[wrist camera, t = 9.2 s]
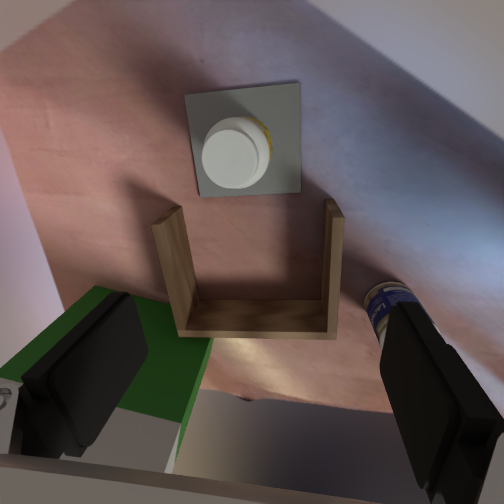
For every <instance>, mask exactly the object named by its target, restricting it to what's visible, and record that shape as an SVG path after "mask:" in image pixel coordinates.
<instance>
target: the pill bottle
mask: <svg viewBox="0 0 504 504" xmlns="http://www.w3.org/2000/svg"><path fill="white" fill-rule="evenodd" d="M398 301H409V302H418V303H419V304H420V305H421V303H420V302H419V300H418V299H417V297H416V296H415V295H414V293H413V292H412V291H411V289H410V288H408V287H407V286H406V285H404V284H401V283H398V282H385V283H381V284H379V285H377V286H375V287H374V288H372V289H371V290H370V291H369V292H368V294H367V295H366V297H365V302H364V304H365V309H366V312H367V314H368V316H369V319H370V321H371V324H372V326H373V329H374V331H375V334H376V336H377V339H378V341H379V344H380V346H381V348H382V349H383V344H384V339H385V333H386V328H387V323H388V318H389V313H390V308H391V306H392V305H396V304H397V302H398ZM421 307H422V308H423V306H422V305H421ZM423 310H424V311H425V313H426V314H427V316H428V317H429V319H430V320H431V322H432V323H433V324H434V326H435V327H436V329H437V330H438V328H437V326H436V325H435V323H434V322H433V321H432V319H431V318H430V316H429V315H428V313H427V312H426V310H425V309H424V308H423ZM438 332H439V330H438ZM439 333H440V332H439Z"/></svg>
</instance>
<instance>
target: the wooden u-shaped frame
mask: <svg viewBox="0 0 504 504" xmlns="http://www.w3.org/2000/svg"><path fill="white" fill-rule="evenodd" d="M344 219H345V217H344V215H343V214H342V212H341V210H340V209H339V207H338V205H337V203H336V202H335V200H334V199H328V200H324V228H323V258H322V289H321V300H200V298H199V293H198V288H197V282H196V277H195V272H194V267H193V262H192V257H191V251H190V246H189V241H188V236H187V231H186V226H185V221H184V215H183V210H182V207H173V208H171V209H170V210H169V211H168V212H166V213H165V214H164V215H163V216H161V217H160V218H159V219H157V220H156V221H155V222H154V223H152V224H151V228H152V232H153V236H154V240H155V244H156V248H157V252H158V256H159V260H160V264H161V268H162V272H163V276H164V280H165V284H166V288H167V292H168V296H169V300H170V304H171V308H172V312H173V316H174V320H175V324H176V328H177V332H178V336H179V337H210V338H263V339H315V340H336V339H337V324H338V309H339V294H340V279H341V264H342V249H343V234H344Z"/></svg>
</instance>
